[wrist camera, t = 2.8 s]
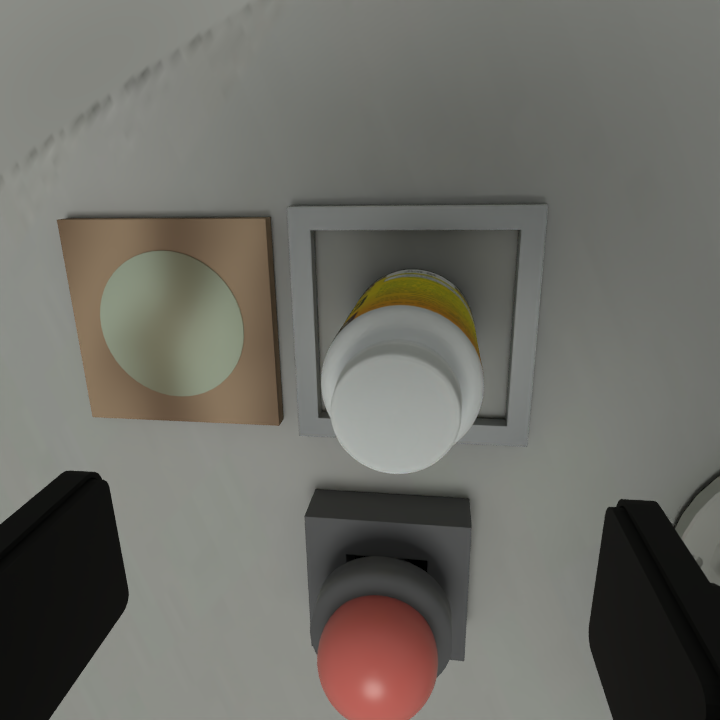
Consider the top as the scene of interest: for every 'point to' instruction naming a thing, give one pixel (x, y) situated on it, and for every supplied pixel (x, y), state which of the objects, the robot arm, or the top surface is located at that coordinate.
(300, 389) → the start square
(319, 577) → the dome housing
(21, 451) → the top surface
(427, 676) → the dome cap
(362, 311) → the supplement bottle
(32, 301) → the top surface
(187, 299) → the pad
